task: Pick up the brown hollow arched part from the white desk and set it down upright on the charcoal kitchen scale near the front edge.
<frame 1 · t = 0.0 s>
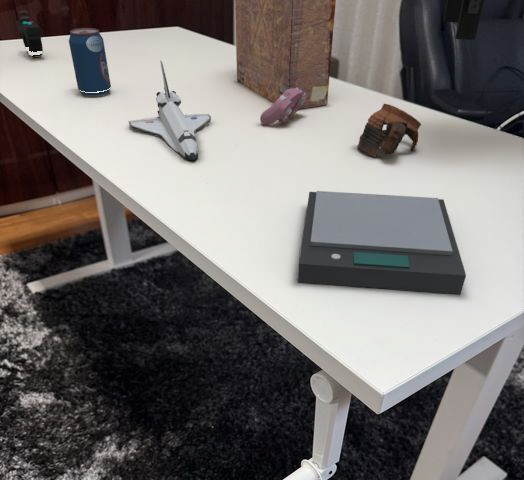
hand: (457, 30, 84), 18 cm above the table, tool pointing down, fingers open, 13 cm apart
video game controller: (284, 121, 105), on the table
book: (279, 93, 119), on the table
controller: (36, 58, 143), on the table
soda can: (95, 94, 118), on the table
scale: (375, 246, 68), on the table
brown hollow arched part: (386, 153, 92), on the table
space shuttle model: (178, 138, 97), on the table
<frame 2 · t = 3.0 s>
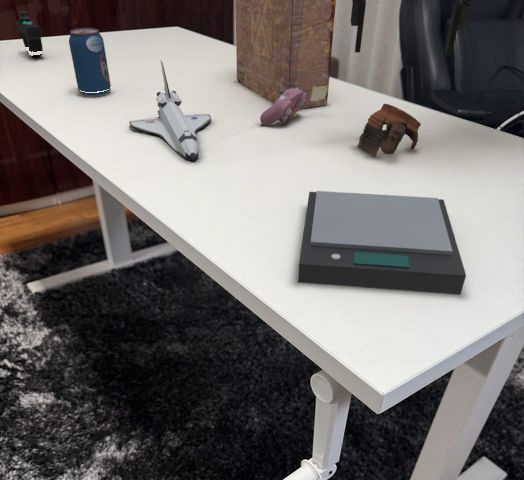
hand: (402, 53, 83), 15 cm above the table, tool pointing down, fingers open, 13 cm apart
nothing on the table moved.
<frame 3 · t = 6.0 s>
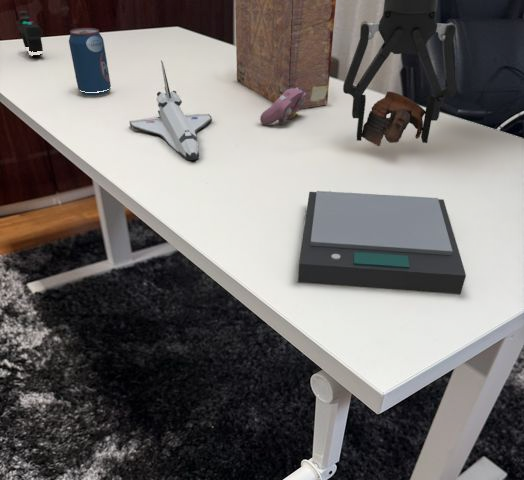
hand: (391, 139, 91), 2 cm above the table, tool pointing down, fingers closed on brown hollow arched part, 10 cm apart
brown hollow arched part: (391, 141, 91), point 2 cm above the table, touching gripper
everything else where it was.
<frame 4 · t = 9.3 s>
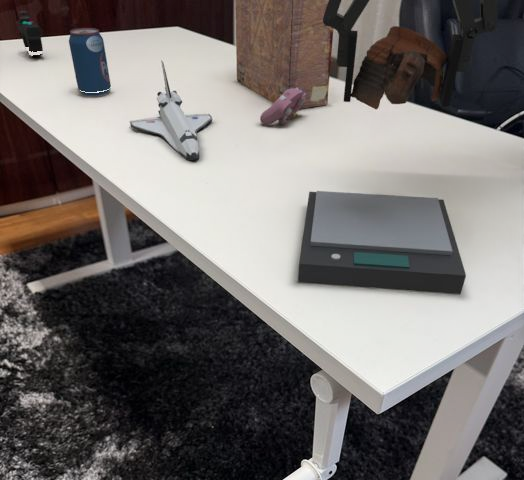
hand: (395, 100, 61), 16 cm above the table, tool pointing down, fingers closed on brown hollow arched part, 10 cm apart
brown hollow arched part: (394, 104, 61), point 15 cm above the table, touching gripper
everything else where it was.
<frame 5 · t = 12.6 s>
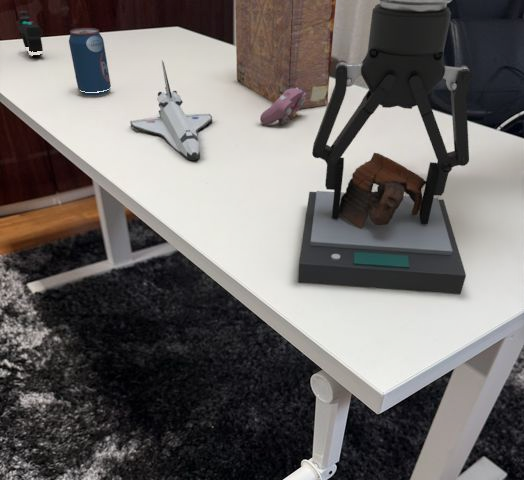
hand: (379, 216, 67), 3 cm above the table, tool pointing down, fingers closed on brown hollow arched part, 10 cm apart
brown hollow arched part: (378, 219, 67), point 3 cm above the table, touching gripper, scale
everything else where it was.
when the fingers open (3 cm above the table, at t = 12.9 s): brown hollow arched part stays where it is, resting on scale.
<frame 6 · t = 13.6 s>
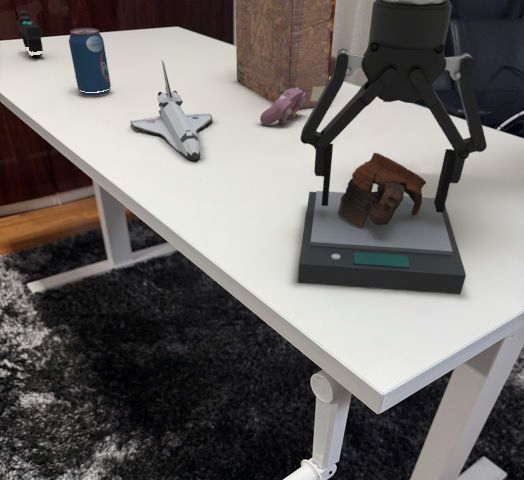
hand: (381, 204, 66), 5 cm above the table, tool pointing down, fingers open, 13 cm apart
brown hollow arched part: (378, 219, 67), point 3 cm above the table, touching scale
everything else where it was.
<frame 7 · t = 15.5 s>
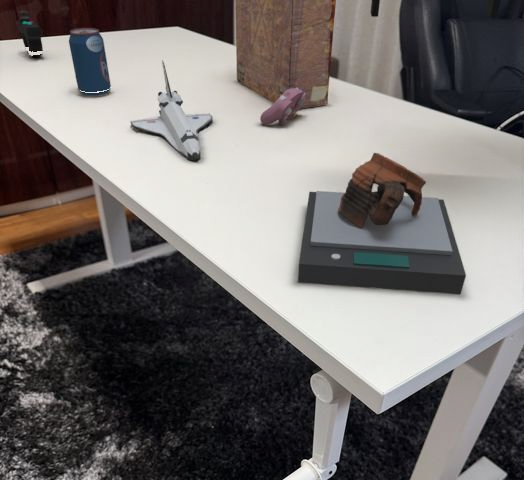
hand: (431, 15, 64), 23 cm above the table, tool pointing down, fingers open, 13 cm apart
nothing on the table moved.
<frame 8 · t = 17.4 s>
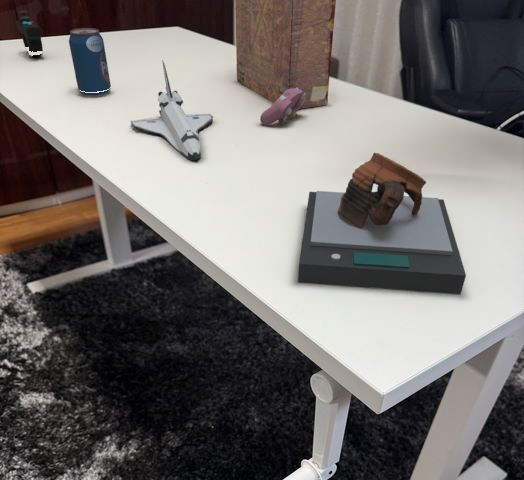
nothing on the table moved.
at the end: brown hollow arched part inside the target area on the scale (0.0 cm from its centre), point 2.9 cm above the scale's base; brown hollow arched part tilted 0°; the gripper is holding nothing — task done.
